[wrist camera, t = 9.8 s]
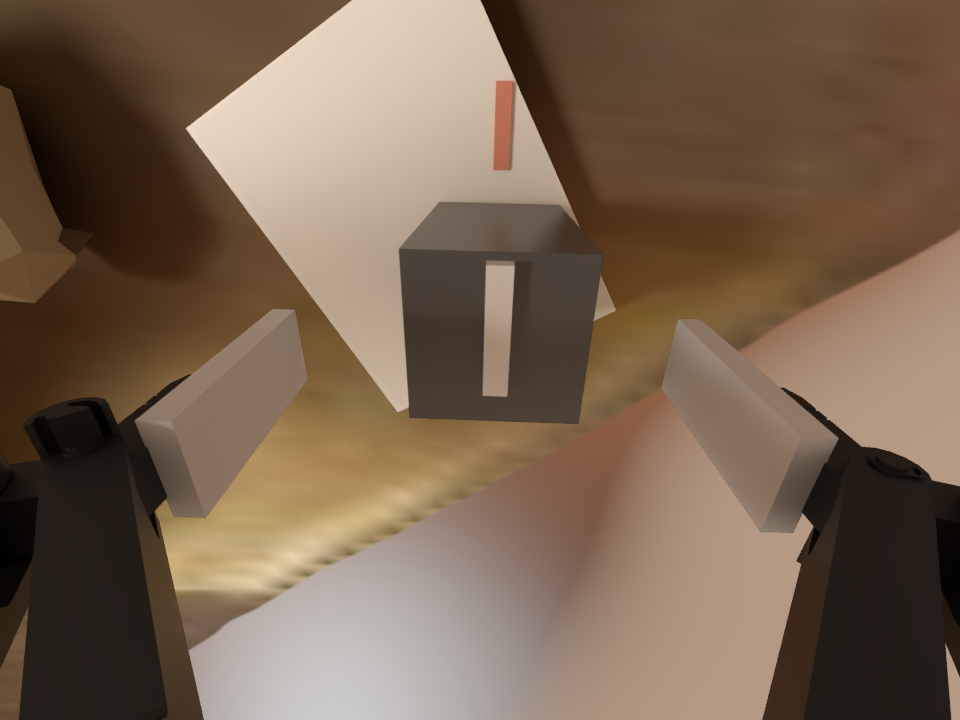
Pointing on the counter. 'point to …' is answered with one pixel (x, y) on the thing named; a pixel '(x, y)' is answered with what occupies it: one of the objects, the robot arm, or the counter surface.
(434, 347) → the grey block with stripe
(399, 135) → the panel
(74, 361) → the counter surface
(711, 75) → the counter surface
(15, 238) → the low-poly potato
